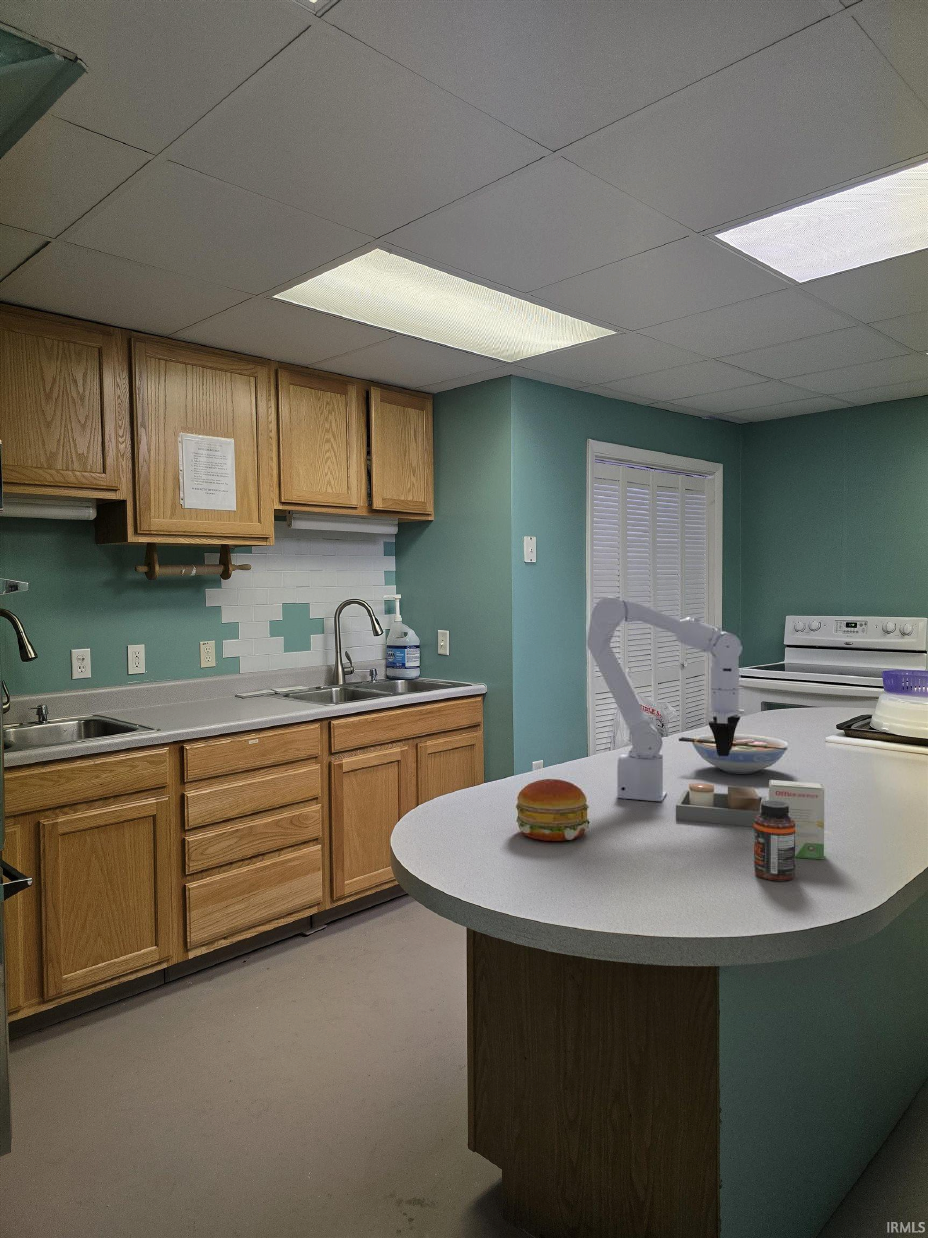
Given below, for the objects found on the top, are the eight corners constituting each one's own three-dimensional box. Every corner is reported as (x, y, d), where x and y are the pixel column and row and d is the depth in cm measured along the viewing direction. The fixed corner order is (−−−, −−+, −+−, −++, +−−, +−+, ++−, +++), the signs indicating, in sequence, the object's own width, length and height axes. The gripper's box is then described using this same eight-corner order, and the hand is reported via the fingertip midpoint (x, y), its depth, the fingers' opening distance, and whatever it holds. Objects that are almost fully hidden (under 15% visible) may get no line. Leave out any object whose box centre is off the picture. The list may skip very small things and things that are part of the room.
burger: (502, 829, 152) (502, 776, 152) (566, 821, 158) (565, 769, 157) (537, 850, 140) (537, 792, 140) (604, 840, 145) (604, 784, 145)
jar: (687, 815, 161) (687, 787, 161) (690, 809, 166) (690, 782, 165) (712, 817, 159) (712, 789, 159) (715, 811, 164) (715, 784, 164)
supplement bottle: (747, 870, 129) (747, 798, 128) (783, 868, 129) (784, 797, 129) (764, 883, 123) (764, 808, 123) (802, 882, 123) (802, 807, 123)
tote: (675, 819, 158) (675, 805, 158) (684, 803, 170) (684, 790, 170) (763, 827, 152) (763, 812, 152) (766, 810, 164) (766, 796, 164)
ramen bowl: (801, 768, 204) (801, 735, 204) (782, 786, 185) (782, 750, 185) (701, 758, 217) (701, 727, 217) (674, 774, 198) (674, 740, 198)
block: (731, 823, 156) (731, 797, 156) (727, 811, 164) (727, 786, 164) (759, 825, 155) (759, 798, 154) (753, 812, 163) (753, 787, 163)
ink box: (768, 855, 136) (768, 785, 136) (767, 846, 141) (768, 778, 140) (824, 860, 133) (825, 788, 133) (821, 851, 138) (822, 781, 138)
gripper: (742, 693, 165) (742, 760, 165) (746, 685, 178) (746, 747, 179) (706, 692, 168) (706, 757, 168) (713, 684, 181) (713, 745, 181)
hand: (724, 752), depth 173 cm, fingers open, 7 cm apart
